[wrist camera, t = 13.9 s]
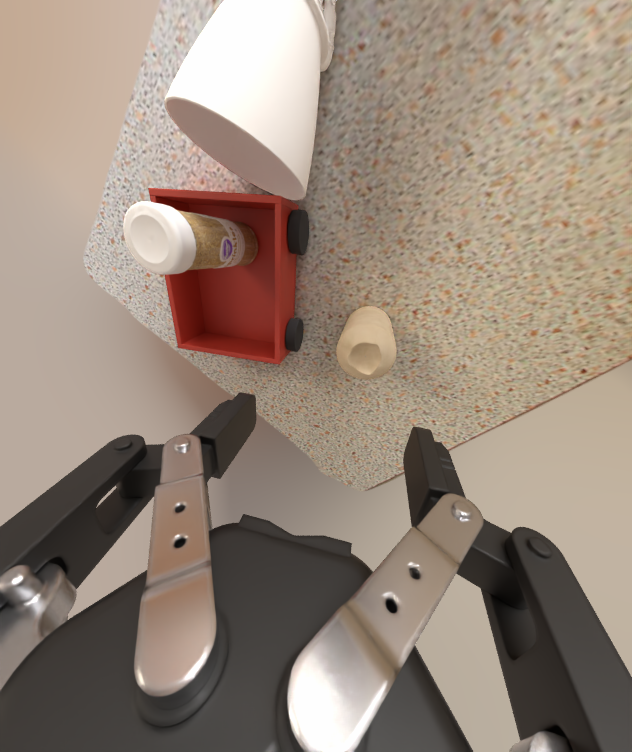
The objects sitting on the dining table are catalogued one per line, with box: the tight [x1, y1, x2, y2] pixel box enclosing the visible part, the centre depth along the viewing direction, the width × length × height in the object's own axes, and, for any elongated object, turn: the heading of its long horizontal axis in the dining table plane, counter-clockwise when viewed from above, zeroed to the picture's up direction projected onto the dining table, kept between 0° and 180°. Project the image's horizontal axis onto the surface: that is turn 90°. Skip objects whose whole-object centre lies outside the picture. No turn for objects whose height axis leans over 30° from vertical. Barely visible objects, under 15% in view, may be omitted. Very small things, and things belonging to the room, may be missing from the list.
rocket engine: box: [164, 0, 337, 201], centre depth 19 cm, size 12×12×18 cm
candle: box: [336, 306, 397, 380], centre depth 27 cm, size 6×6×10 cm
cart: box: [148, 188, 298, 364], centre depth 29 cm, size 16×13×6 cm
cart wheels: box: [285, 210, 309, 352], centre depth 30 cm, size 15×16×4 cm
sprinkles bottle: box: [123, 201, 258, 275], centre depth 23 cm, size 5×5×13 cm
